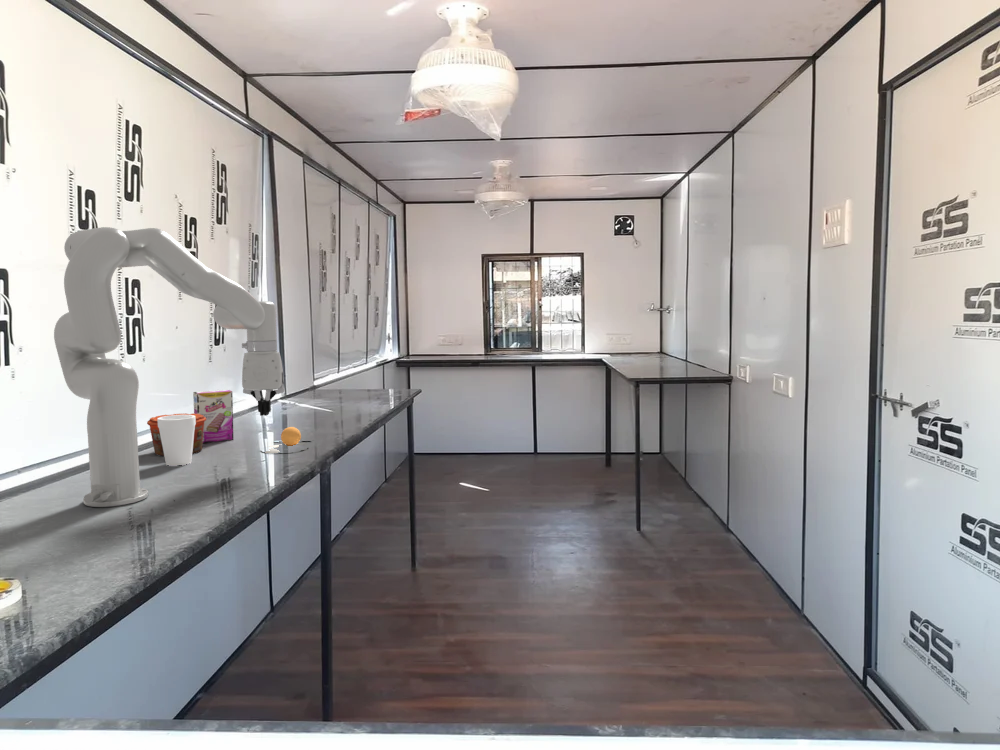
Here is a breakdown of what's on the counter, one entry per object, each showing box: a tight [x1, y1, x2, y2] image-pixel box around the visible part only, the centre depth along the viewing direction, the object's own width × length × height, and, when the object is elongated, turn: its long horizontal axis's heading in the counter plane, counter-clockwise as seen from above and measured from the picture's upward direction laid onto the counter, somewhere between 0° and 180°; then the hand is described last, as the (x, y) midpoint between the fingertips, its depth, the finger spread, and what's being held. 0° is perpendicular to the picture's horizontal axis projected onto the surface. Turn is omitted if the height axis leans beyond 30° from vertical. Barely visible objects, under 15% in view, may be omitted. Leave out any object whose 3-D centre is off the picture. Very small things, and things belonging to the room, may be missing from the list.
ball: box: [280, 426, 302, 446], centre depth 209 cm, size 6×6×6 cm
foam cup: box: [157, 414, 196, 467], centre depth 185 cm, size 10×9×13 cm
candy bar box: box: [193, 389, 234, 444], centre depth 217 cm, size 11×5×16 cm, turn 130°
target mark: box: [264, 444, 280, 454], centre depth 205 cm, size 14×14×1 cm
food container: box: [146, 413, 206, 457], centre depth 200 cm, size 16×16×11 cm
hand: (264, 414), depth 182 cm, fingers closed
